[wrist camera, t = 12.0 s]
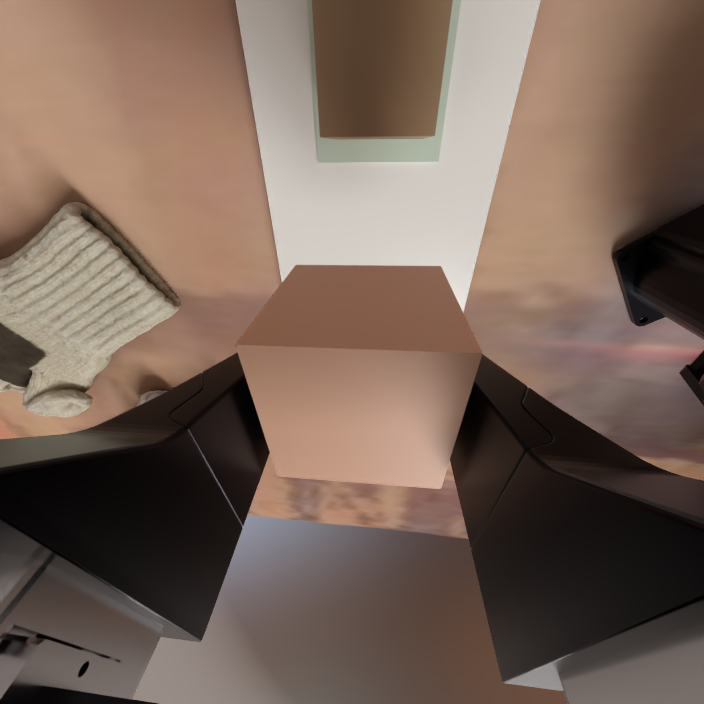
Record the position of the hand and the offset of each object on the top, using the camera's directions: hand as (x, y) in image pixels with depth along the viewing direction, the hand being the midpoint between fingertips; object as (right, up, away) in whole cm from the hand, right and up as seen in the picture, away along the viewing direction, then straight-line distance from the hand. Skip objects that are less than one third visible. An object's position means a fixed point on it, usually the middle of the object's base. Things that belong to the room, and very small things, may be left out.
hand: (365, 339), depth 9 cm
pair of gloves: (-23, -4, +21) cm, 32 cm away
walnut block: (+1, +13, +4) cm, 13 cm away
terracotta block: (0, 0, +1) cm, 1 cm away
